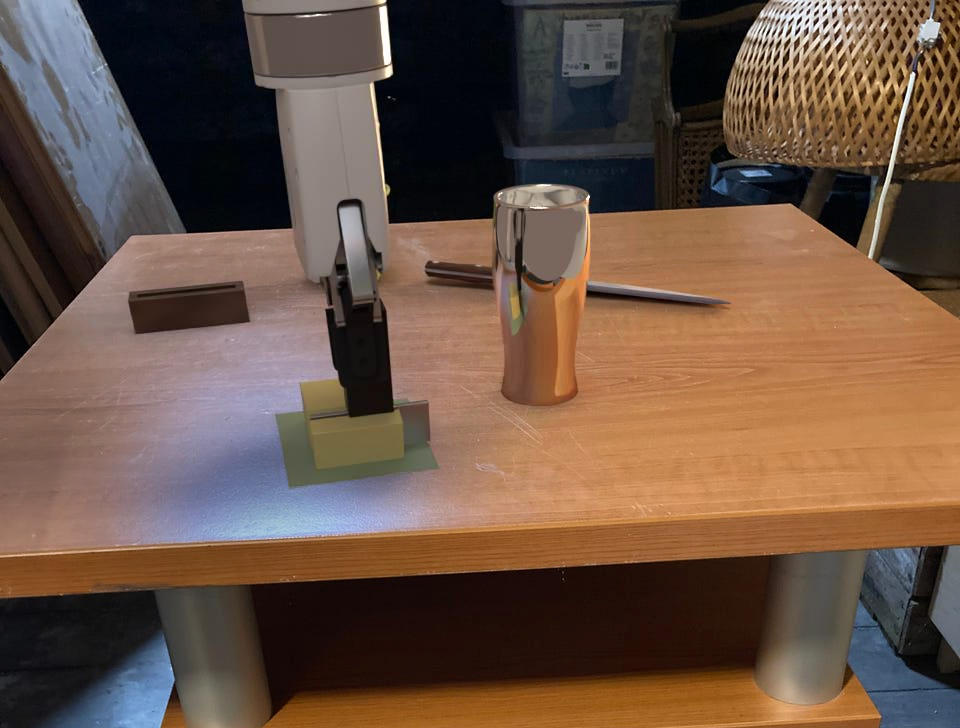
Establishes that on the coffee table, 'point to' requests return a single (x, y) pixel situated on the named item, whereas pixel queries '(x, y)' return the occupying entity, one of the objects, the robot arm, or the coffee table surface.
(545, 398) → the beer glass
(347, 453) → the butter slice
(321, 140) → the robot arm
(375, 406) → the spatula
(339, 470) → the butter dish
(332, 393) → the butter block
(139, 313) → the knife block
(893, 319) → the coffee table surface
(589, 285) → the steak knife
